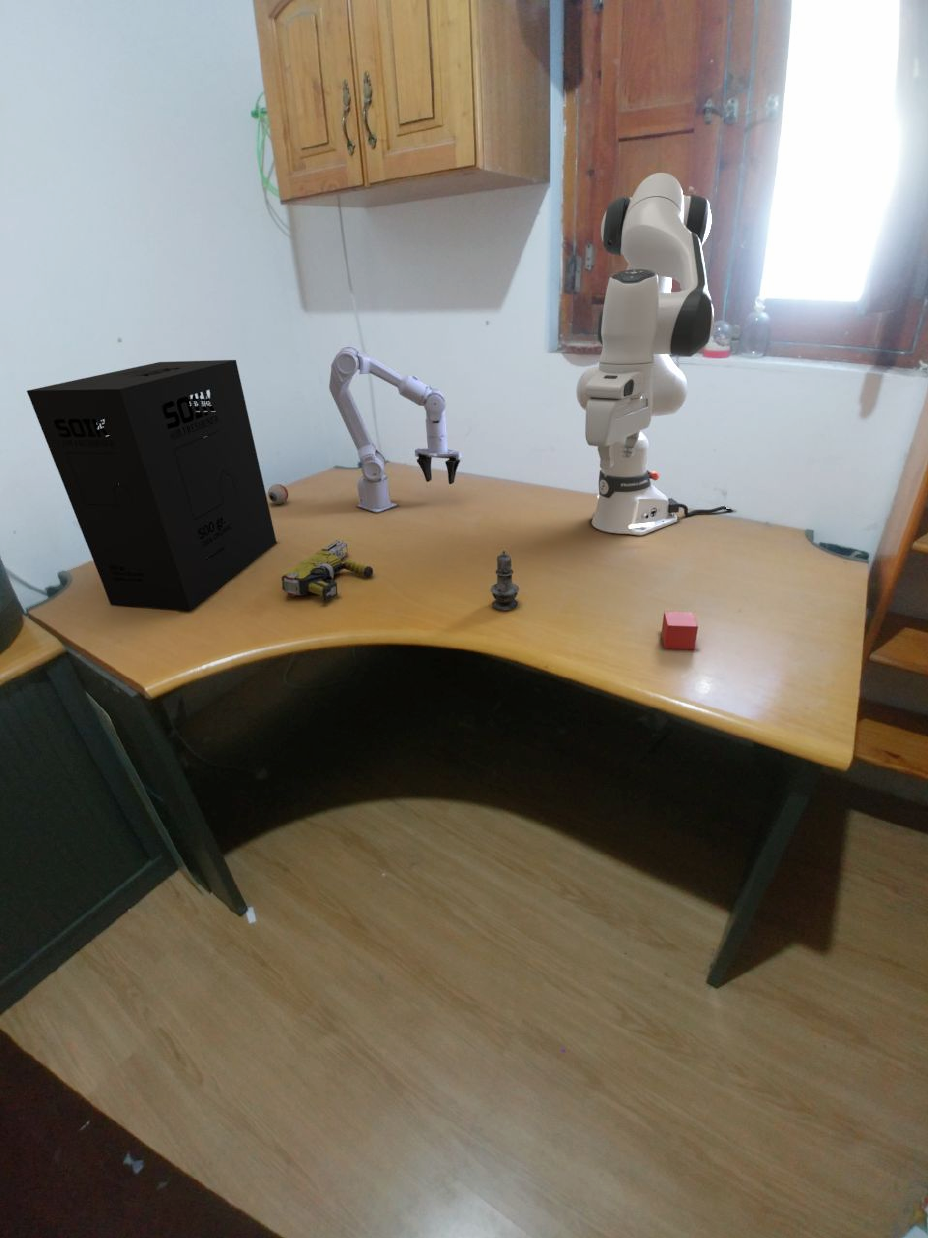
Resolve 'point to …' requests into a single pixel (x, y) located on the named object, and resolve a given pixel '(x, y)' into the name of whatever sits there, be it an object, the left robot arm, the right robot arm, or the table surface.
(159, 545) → the cardboard box
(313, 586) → the toy gun
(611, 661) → the table surface
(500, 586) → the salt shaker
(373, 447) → the left robot arm
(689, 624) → the cube
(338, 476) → the table surface
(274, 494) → the eyeball
